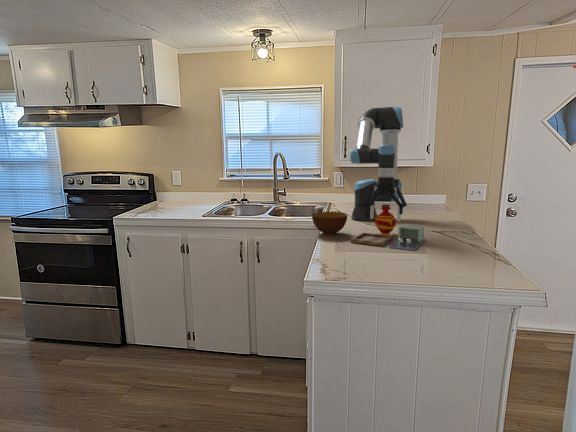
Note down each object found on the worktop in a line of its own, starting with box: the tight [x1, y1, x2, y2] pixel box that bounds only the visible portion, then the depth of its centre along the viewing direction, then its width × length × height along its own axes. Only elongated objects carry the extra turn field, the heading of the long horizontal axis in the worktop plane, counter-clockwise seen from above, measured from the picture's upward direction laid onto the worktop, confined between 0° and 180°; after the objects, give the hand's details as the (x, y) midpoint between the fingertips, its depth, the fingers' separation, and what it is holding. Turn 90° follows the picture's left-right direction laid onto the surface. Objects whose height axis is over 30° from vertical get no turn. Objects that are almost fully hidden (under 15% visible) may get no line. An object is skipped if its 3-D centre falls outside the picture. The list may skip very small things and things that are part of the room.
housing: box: [397, 223, 425, 242], centre depth 186 cm, size 10×7×6 cm
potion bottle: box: [374, 203, 397, 235], centre depth 199 cm, size 10×10×15 cm
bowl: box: [311, 211, 348, 236], centre depth 204 cm, size 18×18×10 cm
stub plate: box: [388, 237, 427, 252], centre depth 182 cm, size 11×20×4 cm, turn 148°
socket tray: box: [350, 232, 394, 248], centre depth 189 cm, size 15×15×2 cm
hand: (385, 219), depth 199 cm, fingers open, 13 cm apart
